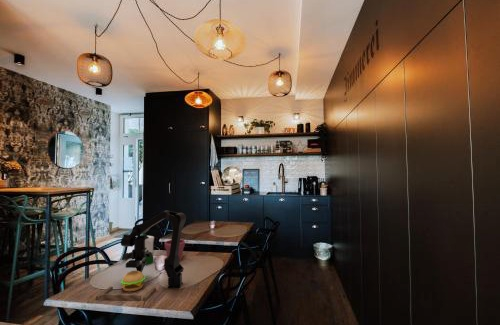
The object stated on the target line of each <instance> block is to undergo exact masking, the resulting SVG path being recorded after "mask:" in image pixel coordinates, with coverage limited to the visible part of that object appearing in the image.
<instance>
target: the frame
mask: <svg viewBox="0 0 500 325" xmlns="http://www.w3.org/2000/svg"><path fill="white" fill-rule="evenodd" d="M113 290H114V286H109V287H108V288H105V289H104V290H103V291H102V292H100V293H99V294H98V295H96V296H95V300H98V301H99V300H101V301H136V302H140V301H144V302H146V301H147V300H149V298H150V297H151V296H152V295H153V294H154V293H155V292H156V291H157V287H152V288H151V289H150V290H149V291H148V292H147V293H145V295H144V296H143V297H142V294H133V293H132V294H131V293H129V294H128V293H127V294H126V293H110V292H112V291H113Z"/></svg>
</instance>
